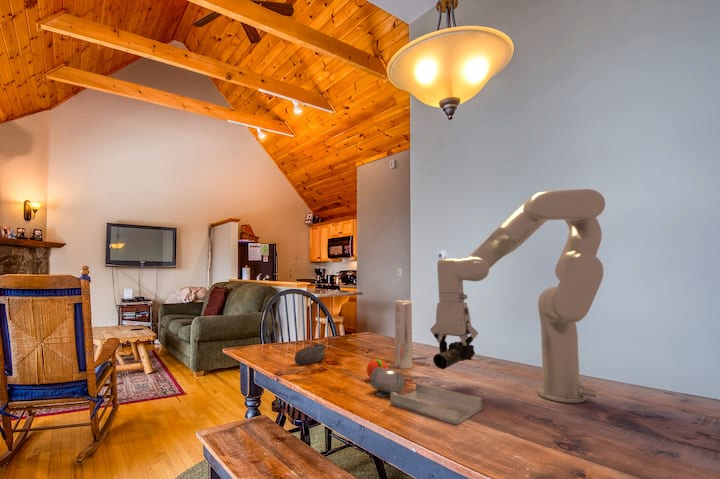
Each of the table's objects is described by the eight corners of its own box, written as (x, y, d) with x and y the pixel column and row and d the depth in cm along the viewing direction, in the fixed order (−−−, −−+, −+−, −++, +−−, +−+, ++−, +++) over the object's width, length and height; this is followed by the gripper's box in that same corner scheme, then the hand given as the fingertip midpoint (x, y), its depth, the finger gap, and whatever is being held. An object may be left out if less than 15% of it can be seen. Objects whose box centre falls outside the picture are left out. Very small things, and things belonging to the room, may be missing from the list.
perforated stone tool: (298, 368, 142) (298, 349, 143) (290, 365, 146) (290, 347, 147) (329, 361, 153) (329, 343, 153) (320, 359, 157) (321, 342, 157)
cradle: (481, 409, 100) (481, 398, 100) (456, 424, 90) (456, 411, 90) (418, 393, 113) (418, 382, 113) (390, 404, 103) (390, 393, 104)
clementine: (392, 383, 123) (392, 360, 124) (373, 385, 121) (373, 362, 121) (382, 376, 131) (382, 355, 131) (363, 378, 128) (363, 357, 129)
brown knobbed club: (447, 370, 108) (446, 350, 108) (428, 367, 113) (426, 348, 113) (478, 358, 120) (477, 340, 121) (459, 356, 125) (458, 338, 125)
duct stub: (405, 393, 113) (405, 369, 113) (390, 399, 107) (390, 374, 108) (384, 388, 118) (384, 365, 119) (369, 393, 113) (369, 369, 113)
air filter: (392, 365, 146) (392, 300, 149) (407, 364, 148) (407, 299, 150) (399, 369, 140) (398, 301, 142) (415, 368, 142) (414, 300, 144)
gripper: (483, 297, 115) (486, 358, 113) (433, 296, 127) (436, 351, 125) (471, 299, 109) (475, 363, 108) (421, 298, 121) (423, 355, 120)
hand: (454, 356), depth 117 cm, fingers closed on brown knobbed club, 6 cm apart
